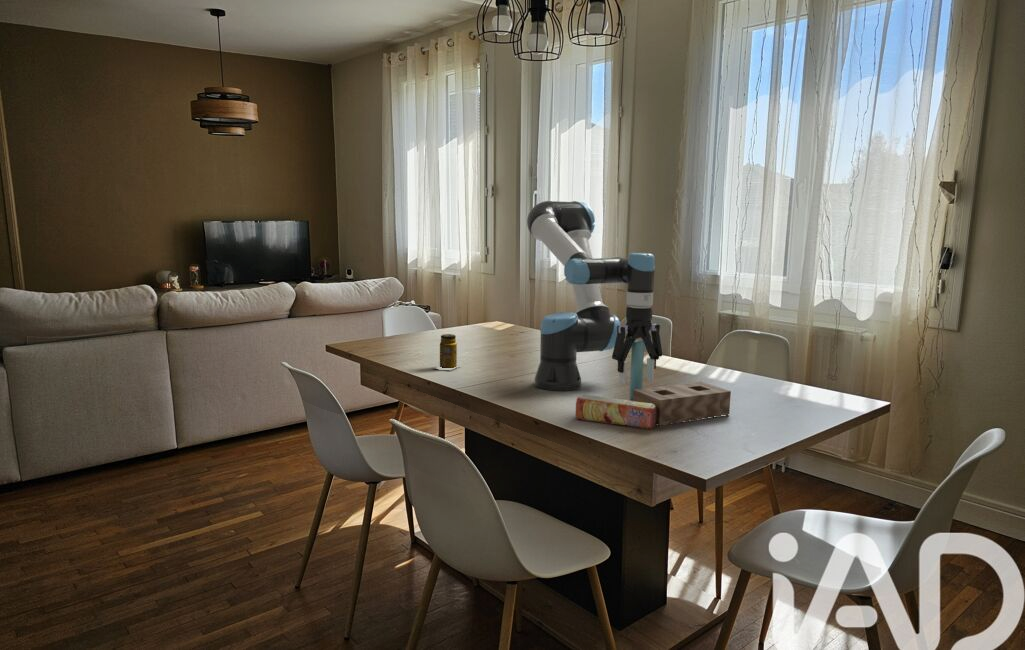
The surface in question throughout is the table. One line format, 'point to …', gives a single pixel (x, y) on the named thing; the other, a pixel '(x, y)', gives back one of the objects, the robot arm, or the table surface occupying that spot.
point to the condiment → (448, 351)
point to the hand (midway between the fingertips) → (636, 381)
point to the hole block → (685, 401)
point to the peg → (636, 367)
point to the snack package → (616, 411)
